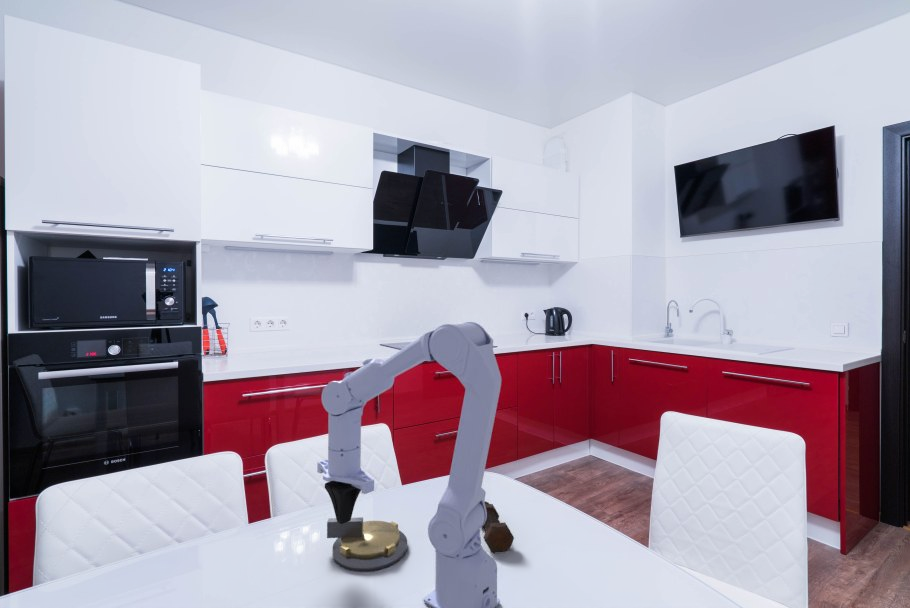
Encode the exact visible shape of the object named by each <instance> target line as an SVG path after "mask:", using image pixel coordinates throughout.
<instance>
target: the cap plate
mask: <svg viewBox="0 0 910 608" xmlns="http://www.w3.org/2000/svg"><path fill="white" fill-rule="evenodd" d="M399 533H400V536H399V544H398V546H397V547H396V552H395V553H393V554H392V555H390V556H387V555H383V556H380V557H376V558H368V559H362V558H355V557H351V556H349V557H347V558H346V557H344V556H343V555H341V554H340V546H341V538H336V540H335V541H334V542H333V545H332V558H333V559H332V560H333V561H334V563H335V564H336V565H337V566H339V567H340V568H342V569H344V570H347V571H351V572H358V573H368V572H369V573H370V572H372V573H373V572H377V571H381V570H384V569H388V568H391V567H392V566H394V565H396V564H397V563H399V562H400V561H401V560H403V559H404V558H405V556H406V554H407V552H408V538H407V536H406V535H405V534H404V532H402V531H401V530H399Z"/></svg>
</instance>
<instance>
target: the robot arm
mask: <svg viewBox="0 0 910 608" xmlns="http://www.w3.org/2000/svg"><path fill="white" fill-rule="evenodd" d="M494 352H495V351H494V339H493V338H492V337H491V336H490V334H489V333H488V332H487V331H486V330H485V327H483V326H482V325H481V324H479V323H477V322H475V321H474V322H473V321H468V322H463V323H456V324H449V323H445V324H441V325H440V326H438V327H436V328H435V329H433V330H432V329H431V330H429V331H427V332H425V333H423V334H422V335H421V336H419V337H417V338H416V339H415V340H413V341H412V342H410V343H409V344H408V345H406V346H404V347H403V348H401V349H399V351H397V352H395V354H393V355H391V356H390V357H388V358H387V359H385V360H383V359H381V358H375V359H373V358H369V359H365V360H364V361H363V362H362V365H363V366H361V367H359V368H358V369H356V370H355V371H350V372H347V373H345V374H344V375H343V376H344V377H343V379H342V380H332V381H329V382H328V384H327V385H326V386H325V387H324V388H323V390H322V392H321V403H322V406H323V408H324V410H325V411H326V412H327V413H328V416H327V417H328V424H327V425H328V431H327V432H328V433H327V434H328V435H327V437H328V440H327V441H328V444H327V445H328V446H327V447H328V448H327V449H328V450H327V459H324V460H320V461H317V470H316V471H317V473H319V474H322V480H324V481H325V482H326V483H324V489H325V490H326V492H327V493H328V495H329V498H330V500H331V503H332V506H333V511H334V515H335V518H336V519H337V522H338V523H340V524H344V523H346V522H348V521H350V520H351V518H353V511H354V508H355V505H356V502H357V499H358V497H359V495H360V493H362V494H363V495H367V494H368V493H372V492H373V491H375V479H373V478H371V477H370V476H369V475H368V474H367V473H366V471H364V470H363V469H362V466H361V462H362V460H361V457H362V456H361V453H362V451H361V450H362V448H361V447H362V441H361V440H362V434H361V433H362V416H363V414H364V413H363V411H364V407H365V406H366V404H367V402H369V401H371V400H372V399H374V398H376V397H377V396H380V395H381V394H382V393H385V392H386V391H388V390H390V389H391V388H392V387H393V385H394V382H395V378H396V377H397V376H399V375H402V374H403V373H405V372H406V371H409V370H410V369H413V368H414V367H416V366H418V365H420V364H422V363H423V362H425V361H426V362H434V361H436V362H437V363H438V364H439V365H440V366H441V367H443V368H444V369H446V370H447V371H448V372H450V373H451V374H452V375H453V376H455V377H456V378H457V379H458V380H459V382H460V383H461V385H462V386H463V387H464V389H465V391H464V397H463V402H462V406H461V413H460V418H459V424H458V429H457V434H456V440H455V444H454V449H453V455H452V462H451V466H450V471H449V477H448V483H447V486H446V488H445V490H444V491H443V494H442V496H441V498H440V500H439V501H438V504H437V508H436V512H435V514H434V516H433V517H432V518H431V519H430V521H429V524H428V527H427V534H428V535H427V536H428V538H429V541H430V543H431V545H432V547H433V548H434V549H435V550H434V552H435V582H434V583H435V584H434V585H435V589H434V590H433V591H432V592H430V593H428V594H427V595H426V596H424V597H423V602H424V603H425V604H427V605H428V606H430V607H432V608H496V607H498V605H500V604H501V603H500V602H501V600H500V599H499V598H498V564H497V562H496V560H495V558H494V557H493V556H491V555H490V554H488V553H487V552H486V550H485V549H484V547H483V546H482V538H481V529H482V528H483V527H482V526H483V525H484V524H485V522H486V518H487V511H486V507H485V500H486V494H487V493H486V490H485V489H484V488H482V485H483V480H484V477H485V476H484V475H485V470H486V466H487V465H486V464H487V459H488V455H489V450H490V449H489V448H490V444H491V439H492V434H493V433H492V432H493V430H494V429H493V428H494V423H495V420H496V419H495V417H496V414H497V413H496V412H497V408H498V403H499V397H500V393H501V387H502V376H501V372H500V369H499V368H500V367H499V364H498V362H497V359H496V356H495V353H494ZM323 473H324V474H323Z"/></svg>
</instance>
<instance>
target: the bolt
mask: <svg viewBox="0 0 910 608" xmlns="http://www.w3.org/2000/svg"><path fill="white" fill-rule="evenodd" d="M485 507H486V511H487V518H486V522H485V524H484V525H483V526H482V527H481V528H484V529H485V533H484V535H483V540H484V541H485V544H486V545H487V547H488V549H489V550H490V552H491V553H497V554H499V553H505V552H508V551H509V549H510V548H511V547H512V545H513V542H514V539H515V537H514V535H513V533H512V532H511V530H510V529H509V526H508V525H507V523H506V522H501V521H500V520H499V519H500V514H499V512H498V511H497V510H496V507H495V506H494V504H493V503H489V502H488V501H485Z"/></svg>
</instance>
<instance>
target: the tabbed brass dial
mask: <svg viewBox="0 0 910 608" xmlns="http://www.w3.org/2000/svg"><path fill="white" fill-rule="evenodd" d="M399 531H400V529H399V524H398V523H396V522H394V521H390V522H387V521H382V520H368V521H364V517H362V516H361V517H351V520H350V521H348V522H346V523H344V524H340V523H338V522H337V519H336V517H334V518H333V517H332V518H328V519H327V522H326V538H327V539H338V538H341V546H340V554H341V555H343V556H344V557H346V558H347V557H349V556H351V557H355V558H362V559H368V558H376V557H380V556H383V555H387V556H390V555H392V554H393V553H395V552H396V547H397V546H398V544H399V536H400V533H399Z"/></svg>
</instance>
